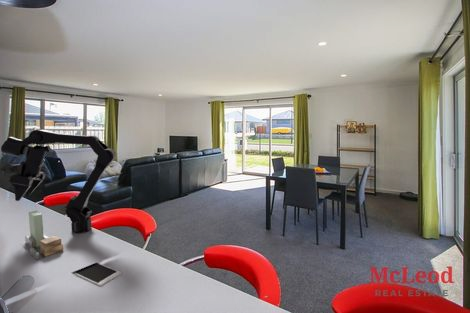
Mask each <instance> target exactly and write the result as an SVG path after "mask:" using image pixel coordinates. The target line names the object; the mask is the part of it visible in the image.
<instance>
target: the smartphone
mask: <svg viewBox="0 0 470 313" xmlns="http://www.w3.org/2000/svg"><path fill="white" fill-rule="evenodd" d="M71 274H73V275H75V276H77V277H79V278H82V279H83V280H85V281H87V282H90V283H92V284H93V285H96V286H99V287H102V286H104V285H105V284H107V283H109V282H111V281H112V280H114V279H116V276H117V277H118V276H121V274H122V272H121V271H119V270H116V269H113V267H109V266H107V265H103V264H101V263H99V262H94V263H90V264H89V265H87V266H85V267H81V268H79V269H78V270H75V271H72V272H71ZM113 278H114V279H113Z"/></svg>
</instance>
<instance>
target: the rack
mask: <svg viewBox="0 0 470 313" xmlns="http://www.w3.org/2000/svg"><path fill="white" fill-rule="evenodd" d="M43 234H44V239H46V238H49V236H47V235H46V233H44V232H43ZM24 239H25V240H24V241H25V242H24V243H22V244H20V245H21V246H22V247H23V248H24V249H25V250H26V251H27V252H28V253H29V255H30V256H32V257H33V259H34V260H36V261H39V260H43V259H44V258H48V257H51V256H54V255H57V254H59V253H63V252H64V249H63V250H62V251H59V252H56V253H53V254H50V255H47V256H45V255H44V254H43V253H41V251H40V246H38V247H35V240H34V239H33V238H31V236H30V234H25V236H24Z"/></svg>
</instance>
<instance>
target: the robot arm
mask: <svg viewBox="0 0 470 313" xmlns="http://www.w3.org/2000/svg"><path fill="white" fill-rule="evenodd" d="M48 144H67V145H69V144H71V145H86V146H89V147H90V148H91V150H92V151H93V152H94V154H95V155H97V158H96V161H95V166H94V168H93V170H92V172H91V173H90V175H89V176H88V178H87V180H86V182H85V183H84V185H83V186H82V188H81V190H80V191H79V193H78V195H74V196H72V197H71V198H70V199H69V201H68V203H67V205H65V206H64V209H65V210H64V211H65V212H64V213H65V214H66V216H67V217H68V218H69V220H70V222H71V224H70V225H71V232H72V233H75V234H84V233H89V231H91V230H92V217H91V215H92V211H93V210H92V209H90V207H88V202H89V198H90V196H91V194H92V192H93V191H94V189H95V187H96V186H97V184H98V183H99V180H100V179H101V177H102V175H104V172H105V171H106V169H108V168H109V166H110V165H111V164H112V163H113V162H114V160H116V158H117V152H116V150H114V149H113V148H110V147H109V146H108V145H106V143H104V141H101V140H100V138H98V136H96V135H83V134H69V133H68V134H66V133H59V132H55V131H52V130H47V129H33V130H31V131H30V132H29V134H28V136H27V137H25V138H24V139H19V138H16V137H14V136H8V137H7V139H6V140H5V141H4V142H3V144H2V145H1V146H0V152H1V153H2V154H6V155H10V156H14V157H19V158H22V157H23V156H25V158H24V160H22V161H21V162H20V163H19V164H12V162H9V163H8V162H7V163H3V165H1V168H0V171H2V174H3V175H8V174H12V175H10V176H9V177H8V180H7V182H8V183H9V184H10V185H11V186H12V187H14V199H15V201H16V202H19V201H21V199H22V198H23V197H24V196H25V197H29V196H30V195H31V194H32V193H33V192H34V191H35V190H36V188H37V187H38V186H39V185H41V183H42V182H43V181H44V180H45V178H46V173H45V172H43V171H41V170H42V167H44V164H45V163H44V160H45V156H46V153H52V152H53V149H52V148H51V147H50V146H51V145H48ZM43 145H45V146H43Z"/></svg>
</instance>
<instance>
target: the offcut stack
mask: <svg viewBox="0 0 470 313" xmlns="http://www.w3.org/2000/svg"><path fill="white" fill-rule="evenodd" d="M48 237H49V236H48ZM62 250H63V251H64V244H63V243H62V238H61V237H59V236H57V235H53V236H50V237H49V238H46V239H43V240H40V251H41V253H43V254H44V255H45V256H47V255H50V254H53V253H56V252H59V251H62Z"/></svg>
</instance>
